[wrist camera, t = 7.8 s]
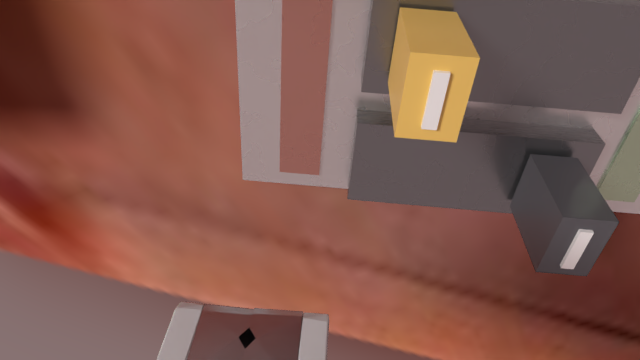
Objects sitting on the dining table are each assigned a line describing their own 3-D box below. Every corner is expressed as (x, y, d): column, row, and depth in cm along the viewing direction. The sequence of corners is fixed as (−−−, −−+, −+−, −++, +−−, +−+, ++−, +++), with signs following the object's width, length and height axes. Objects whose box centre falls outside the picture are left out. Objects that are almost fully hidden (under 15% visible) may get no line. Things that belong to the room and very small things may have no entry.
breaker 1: (399, 7, 21) (410, 54, 17) (456, 11, 21) (481, 60, 17) (387, 82, 23) (394, 139, 19) (439, 86, 23) (457, 145, 19)
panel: (232, -247, 19) (214, -256, 16) (899, -195, 19) (978, -196, 16) (247, 165, 31) (238, 194, 29) (650, 200, 31) (675, 232, 28)
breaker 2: (530, 154, 25) (564, 220, 21) (577, 157, 25) (621, 225, 21) (509, 205, 28) (536, 274, 23) (553, 209, 28) (588, 279, 23)
